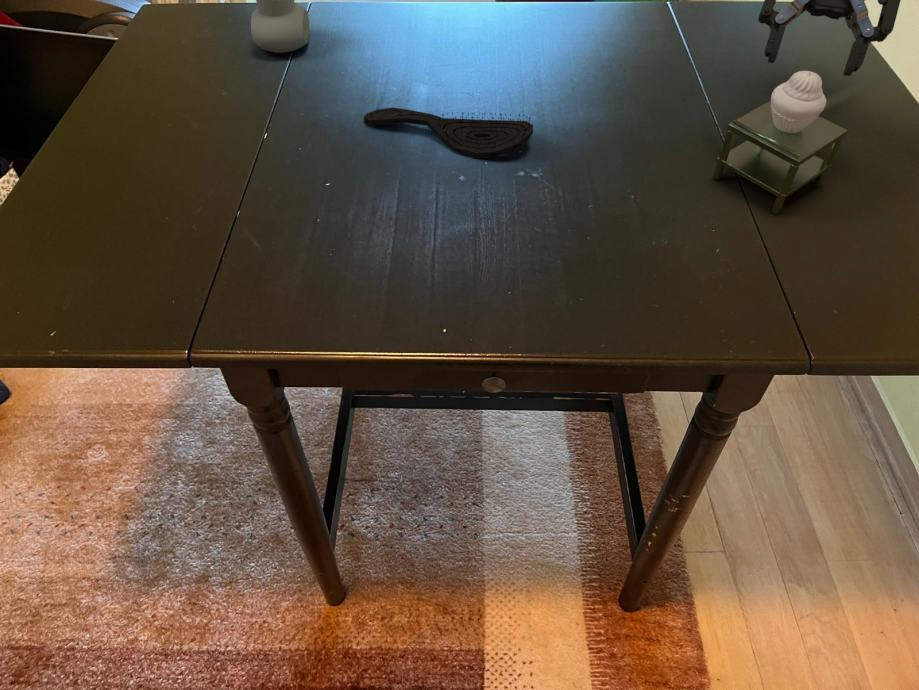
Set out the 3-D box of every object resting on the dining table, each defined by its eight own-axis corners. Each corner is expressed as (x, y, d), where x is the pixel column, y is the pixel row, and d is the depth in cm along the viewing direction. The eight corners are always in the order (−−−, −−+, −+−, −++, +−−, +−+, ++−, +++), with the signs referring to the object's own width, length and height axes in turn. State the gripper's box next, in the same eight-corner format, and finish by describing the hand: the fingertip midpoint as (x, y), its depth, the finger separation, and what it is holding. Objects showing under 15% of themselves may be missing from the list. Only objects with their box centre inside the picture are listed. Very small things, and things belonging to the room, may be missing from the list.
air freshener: (264, 30, 118) (250, -32, 110) (312, 28, 118) (301, -33, 111) (255, 62, 111) (238, -2, 104) (306, 60, 111) (293, -3, 104)
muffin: (825, 130, 83) (850, 75, 77) (791, 146, 81) (813, 92, 75) (784, 107, 86) (805, 53, 81) (750, 122, 84) (769, 68, 79)
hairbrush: (373, 87, 100) (540, 107, 94) (377, 110, 103) (539, 131, 97) (350, 118, 95) (524, 141, 89) (354, 141, 98) (524, 165, 92)
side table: (758, 149, 94) (779, 91, 87) (822, 184, 89) (851, 125, 82) (711, 177, 90) (730, 119, 83) (775, 216, 85) (801, 156, 78)
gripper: (795, -103, 76) (751, 45, 78) (935, -87, 73) (885, 67, 75) (783, -68, 84) (742, 67, 86) (910, -52, 80) (865, 88, 82)
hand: (809, 67), depth 80 cm, fingers open, 8 cm apart
